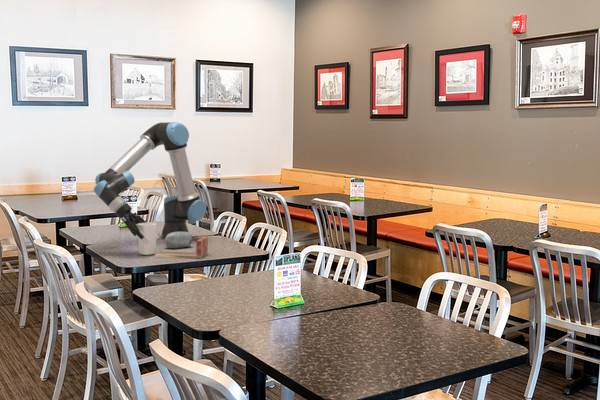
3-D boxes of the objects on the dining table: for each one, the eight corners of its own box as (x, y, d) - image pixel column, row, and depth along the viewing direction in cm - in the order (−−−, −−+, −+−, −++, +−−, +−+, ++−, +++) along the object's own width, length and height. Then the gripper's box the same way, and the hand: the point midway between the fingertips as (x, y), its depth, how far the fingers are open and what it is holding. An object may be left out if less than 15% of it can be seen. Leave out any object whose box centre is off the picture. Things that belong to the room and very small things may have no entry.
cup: (158, 254, 312) (157, 223, 310) (145, 256, 307) (144, 225, 305) (149, 252, 317) (148, 222, 315) (136, 254, 312) (135, 223, 310)
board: (163, 252, 317) (163, 235, 316) (207, 253, 314) (207, 236, 313) (155, 257, 305) (154, 239, 304) (200, 258, 302) (200, 241, 301)
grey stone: (190, 238, 339) (187, 223, 333) (195, 249, 332) (192, 234, 326) (164, 246, 335) (161, 231, 329) (169, 257, 328) (166, 242, 322)
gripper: (125, 210, 323) (156, 242, 323) (105, 216, 300) (138, 250, 300) (135, 199, 322) (166, 231, 322) (115, 205, 299) (149, 239, 299)
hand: (152, 240), depth 311 cm, fingers open, 11 cm apart
